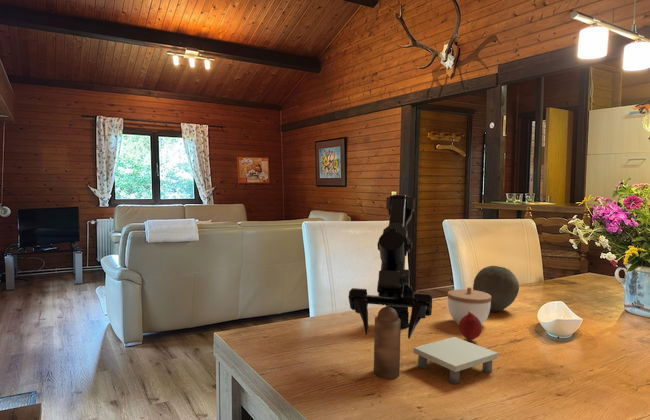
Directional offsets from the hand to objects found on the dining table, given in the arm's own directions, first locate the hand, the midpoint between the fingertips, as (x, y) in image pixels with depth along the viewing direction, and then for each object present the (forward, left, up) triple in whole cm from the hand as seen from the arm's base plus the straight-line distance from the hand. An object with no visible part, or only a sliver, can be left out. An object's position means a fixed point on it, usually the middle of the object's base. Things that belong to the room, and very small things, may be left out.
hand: (387, 335), depth 92 cm
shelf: (+6, +15, -8) cm, 18 cm away
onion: (-4, +33, -9) cm, 34 cm away
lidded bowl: (-14, +45, -9) cm, 48 cm away
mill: (0, 0, -8) cm, 8 cm away
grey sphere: (-19, +65, -9) cm, 68 cm away
